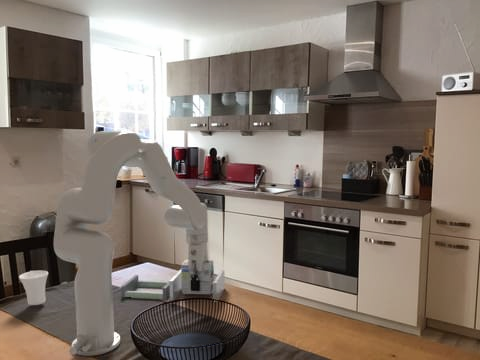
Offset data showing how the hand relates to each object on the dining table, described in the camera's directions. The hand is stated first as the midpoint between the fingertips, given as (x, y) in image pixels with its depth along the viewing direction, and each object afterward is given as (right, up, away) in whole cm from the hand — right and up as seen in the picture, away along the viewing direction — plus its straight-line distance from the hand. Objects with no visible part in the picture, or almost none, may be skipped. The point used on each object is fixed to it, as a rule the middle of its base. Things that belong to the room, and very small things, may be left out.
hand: (198, 286), depth 153 cm
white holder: (0, -3, 0) cm, 3 cm away
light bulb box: (0, -2, 0) cm, 2 cm away
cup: (-54, -3, -8) cm, 55 cm away
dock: (-18, -3, +3) cm, 18 cm away
